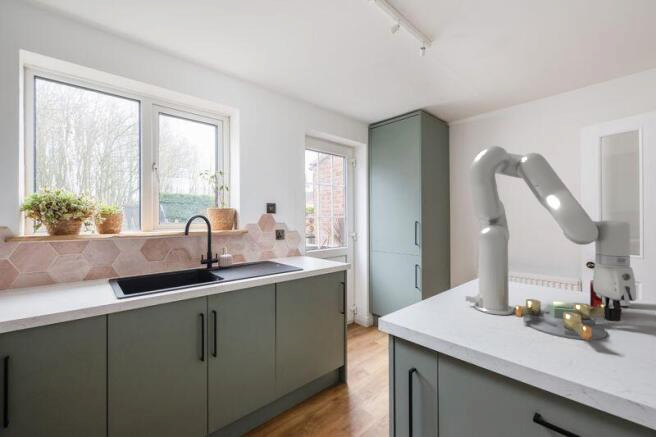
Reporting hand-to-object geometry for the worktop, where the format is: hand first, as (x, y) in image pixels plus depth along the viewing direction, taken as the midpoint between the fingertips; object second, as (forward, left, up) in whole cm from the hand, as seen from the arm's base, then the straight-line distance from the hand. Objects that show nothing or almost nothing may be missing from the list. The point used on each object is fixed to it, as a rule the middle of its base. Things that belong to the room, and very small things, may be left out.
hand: (612, 320), depth 87 cm
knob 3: (-14, -14, 0) cm, 20 cm away
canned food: (+5, +16, -3) cm, 17 cm away
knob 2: (-4, +3, 0) cm, 5 cm away
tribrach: (-14, -3, -3) cm, 14 cm away
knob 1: (-23, -2, 0) cm, 23 cm away
